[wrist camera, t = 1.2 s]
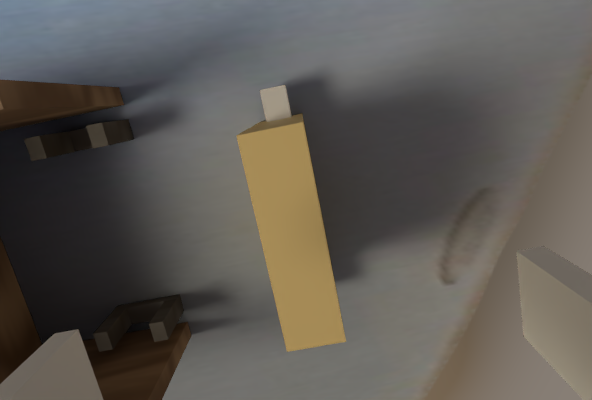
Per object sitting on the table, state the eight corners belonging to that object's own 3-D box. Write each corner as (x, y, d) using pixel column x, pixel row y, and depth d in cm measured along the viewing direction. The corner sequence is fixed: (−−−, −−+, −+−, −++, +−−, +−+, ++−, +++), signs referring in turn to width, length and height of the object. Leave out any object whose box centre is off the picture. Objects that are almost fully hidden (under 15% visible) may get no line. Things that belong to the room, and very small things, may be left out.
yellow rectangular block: (253, 93, 28) (225, 89, 18) (296, 84, 28) (294, 75, 18) (296, 289, 32) (295, 385, 21) (335, 282, 32) (352, 375, 21)
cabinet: (-61, 126, 29) (-300, 143, 17) (119, 87, 28) (-7, 79, 17) (34, 363, 34) (-107, 503, 22) (191, 335, 33) (131, 464, 21)
